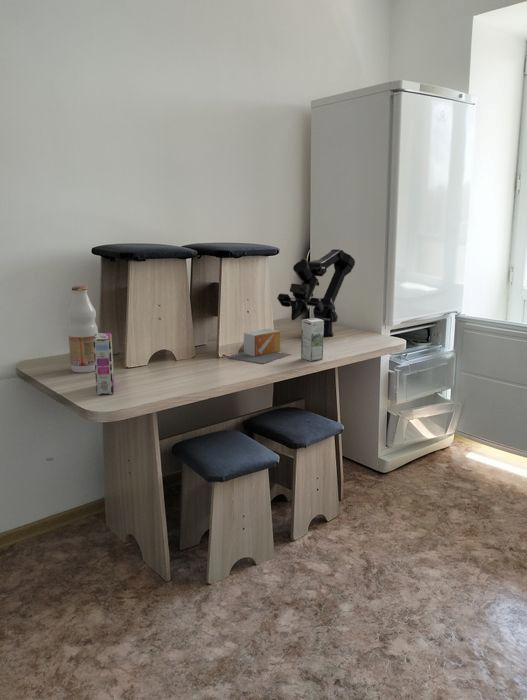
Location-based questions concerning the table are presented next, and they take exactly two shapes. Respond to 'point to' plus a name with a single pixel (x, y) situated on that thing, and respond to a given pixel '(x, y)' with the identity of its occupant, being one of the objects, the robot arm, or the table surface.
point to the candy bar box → (104, 363)
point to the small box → (261, 342)
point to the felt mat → (259, 357)
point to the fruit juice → (81, 331)
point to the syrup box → (312, 339)
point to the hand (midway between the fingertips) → (292, 319)
